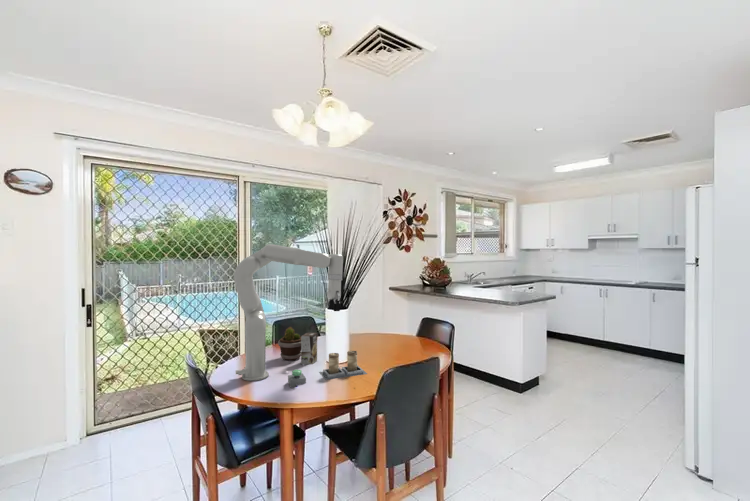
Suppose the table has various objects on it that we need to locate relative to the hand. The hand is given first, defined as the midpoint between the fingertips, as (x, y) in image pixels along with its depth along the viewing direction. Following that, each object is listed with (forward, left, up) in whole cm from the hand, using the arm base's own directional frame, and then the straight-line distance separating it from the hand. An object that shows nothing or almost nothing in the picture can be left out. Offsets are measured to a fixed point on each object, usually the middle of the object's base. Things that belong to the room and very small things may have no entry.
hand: (334, 309), depth 192 cm
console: (-22, -13, -32) cm, 41 cm away
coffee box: (-9, +17, -32) cm, 37 cm away
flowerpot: (-17, +29, -32) cm, 46 cm away
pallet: (+2, -10, -32) cm, 33 cm away
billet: (+7, -10, -31) cm, 33 cm away
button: (-22, -13, -30) cm, 39 cm away
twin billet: (-3, -10, -31) cm, 33 cm away
